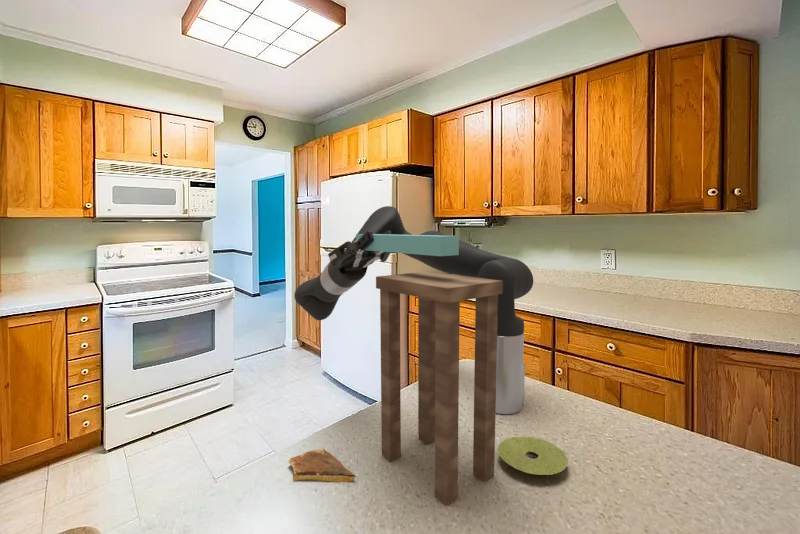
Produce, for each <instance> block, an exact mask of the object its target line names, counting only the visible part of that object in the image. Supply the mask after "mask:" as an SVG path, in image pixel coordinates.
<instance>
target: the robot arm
mask: <svg viewBox="0 0 800 534" xmlns="http://www.w3.org/2000/svg"><path fill="white" fill-rule="evenodd" d="M356 234H364V235H363V236H362V237H361V238H360V239H358V240H356V235H355V237H354V238H353V239H352V241H349V240H347V241H345V242H344V243H343V244H341V245H339V246H338V247H336V248H335V249H333V250H331V251H330V252H328V254H327V255H328V259H329V262H328V263H327V265H325V267H324V268H323V270H322V271H321V272H320V273H319V275H317V276H316V277H313V278H310V279H308V280H306V281H304V282H302V283H301V284H300V285H299V286H298V287H297V288H296V289H295V291H294V296H293V297H294V300H295V302H296V303H297V304H298V305H299V306H300V307H301V308H302V309H303V310H304V311H306V313H308V314H309V316H311V318H313V319H314V320H316V321H323V320H326V319H327V318H329V317H330V316H331V314H332V313H333V311H334V310H335V308H336V305H337V303H338V301H339V299H340V297H341V296H342V295H344V293H346V292H348V291H349V290H350V289H352V288H353V287H354V286H355V285H356V284H357V283H359V282H360V281H361V280H362V279H363V278H364V277H365V276H366V273H367V270H368V267H369V266H371V265H372V264H373V263H375V261H378V260H379V261H380V263H385V262H387V260H388V258H389V257H390V255H391V253H392V252H381V251H369V250H365V249H366V248H367V247H368V246H369V245H370V244H371V243H372V242H373V241H374V238H373V234H391V235H414V234H412V233H410V232H409V231H408V230H406V229H405V226H404V223H403V220H402V218H401V215H400V212H399V211H398V209H397V208H396V207H394V206H389V205H386V206H383V207H382V206H381V207H380V208H378V209H375V211H374V212H373V213H371V214H370V216H369V217H368V218H367V219H366V221H365V222H364V223H363V225H362V227H361V228H360V229H359V231H358V232H357V233H356ZM419 235H438V236H449V235H448V234H445V233H443V232H440V231H438V230H427V231H425V232H424V231H423V232H422V233H420V234H419ZM401 254H402V255H404V256H407V257H410V258H412V259H414V260H416V261H419V262H421V263H422V264H424V265H427V266H429V267H430V268H433V269H435V270H437V271H440V272H441V273H442V272H443V273H445V274H453V275H461V276H469V277H477V278H485V279H493V280H501V281H503V294H498V317H497V365H496V412H495V414H498V415H499V414H500V415H511V414H517V413H519V412H520V411H521V410H522V409H523V405H525V380H526V379H525V377H526V376H525V375H526V363H524V353H525V350H524V348H525V347H524V344H525V343H524V342H525V340H524V339H525V321H524V320H523V319H522V318H521V317H520V316H518V315H517V314H516V309H515V304H516V303H515V300H516V299H520V298H522V297H524V296H525V295H527V294H528V293H529V292H530V291H531V290H532V288H533V286H534V276H533V273H532V271H531V269H530V268H529V267H528V265H527V264H525V263H524V262H523V261H521V260H520V259H517V258H514V257H509V256H505V255H500V254H496V253H492V252H488V251H486V250H483V249H481V248H478V247H476V246H474V245H473V244H470V243H467V242H465V241H462V240H461V239H459V255H452V256H431V255H419V254H406V253H401Z"/></svg>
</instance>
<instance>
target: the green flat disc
mask: <svg viewBox="0 0 800 534" xmlns="http://www.w3.org/2000/svg"><path fill="white" fill-rule="evenodd" d="M497 452H498V455H499V457H500V458H501V459H502V460H503V462H505V464H507V465H509V466H510V467H513V468H514V469H516V470H518V471H521V472H523V473H526V474H530V475H536V476H537V475H540V476H542V475H546V476H549V475H556V474H557V475H558V474H559V473H561V472H563V471H565V470H566V468H567V466H568V463H569V459H568V457H567V455H566V453H565V452H564V451H563V450H562V449H561V448H559V447H558V446H557V445H555V444H553V443H551V442H550V441H547V440H544V439H541V438H538V437H532V436H531V437H529V436H514V437H509V438H505V439H504V440H502V441H501V442H500V443H499V445H498V446H497Z"/></svg>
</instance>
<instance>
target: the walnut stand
mask: <svg viewBox="0 0 800 534" xmlns="http://www.w3.org/2000/svg"><path fill="white" fill-rule="evenodd" d="M375 288H376V289H377V290H379V293H380V295H379V296H380V297H379V301H380V302H379V304H380V305H379V307H380V309H379V311H380V314H379V315H380V319H379V320H380V322H379V323H380V395H381V398H380V399H381V401H380V402H381V403H380V410H381V411H380V412H381V413H380V414H381V415H380V416H381V423H380V425H381V456H382V457H383V458H384V459H385V460H386V461H388V462H389V463H391V462H393V461H395V460H398V459H399V458H401V454H402V453H401V452H402V445H401V444H402V443H401V441H402V440H401V439H402V438H401V437H402V436H401V435H402V434H401V427H402V425H401V419H402V418H401V412H402V411H401V410H402V409H401V404H402V403H401V402H402V401H401V295H407V296H411V297H417V298H418V299H417V301H418V304H417V305H418V309H417V311H418V314H417V316H418V318H417V319H418V323H417V324H418V325H417V327H418V330H417V331H418V332H417V333H418V335H417V337H418V339H417V340H418V342H417V343H418V344H417V345H418V348H417V349H418V350H417V351H418V353H417V354H418V356H417V357H418V362H417V363H418V366H417V367H418V368H417V369H418V375H417V377H418V378H417V379H418V380H417V382H418V385H417V386H418V389H417V390H418V391H417V392H418V393H417V394H418V395H417V396H418V399H417V400H418V405H417V406H418V407H417V408H418V410H417V411H418V414H417V419H418V421H417V423H418V424H417V425H418V426H417V429H418V430H417V431H418V435H417V436H418V438H417V439H418V440H419V441H421V442H422V443H424V444H425V445H429V444H431V443H434V498H435V499H437V500H438V501H439V502H440V503H441V504H443V505H444V506H446V507H447V506H449V504H452V503H453V502H455V501H456V500H458V498H459V497H458V488H459V487H458V484H459V483H458V482H459V481H458V480H459V479H458V477H459V476H458V475H459V405H460V403H459V401H460V400H459V397H460V395H459V394H460V386H459V385H460V317H461V316H460V310H461V309H460V308H461V306H460V305H461V304H460V303H461V301H467V300H474V299H475V313H474V319H475V320H474V321H475V322H474V323H475V324H474V374H473V375H474V379H473V380H474V381H473V382H474V386H473V387H474V388H473V389H474V390H473V441H472V442H473V444H472V445H473V446H472V447H473V452H472V455H473V456H472V459H473V460H472V475H473V476H475V477H476V478H478V479H479V480H481V481H483V482H487V481H488V480H490V479H491V478H493V477H494V476H495V454H496V453H495V452H496V451H495V448H496V447H495V446H496V445H495V444H496V442H495V441H496V413H495V412H496V365H497V317H498V294H503V281H501V280H493V279H485V278H477V277H469V276H461V275H455V274H450V273H446V272H443V273H442V272H437V271H435V272H434V271H429V270H428V271H420V272H410V273H400V274H391V275H389V274H387V275H378V276H377V275H376V276H375Z"/></svg>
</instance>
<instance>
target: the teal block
mask: <svg viewBox="0 0 800 534" xmlns="http://www.w3.org/2000/svg"><path fill="white" fill-rule="evenodd" d="M363 235H364V234H357V233H356V234H355V236H356V240H358V239H360V238H361V237H362V236H363ZM373 238H374V241H373V242H372V243H371V244H370V245H369V246H368V247H367V248H366V249H365V250H369V251H381V252H391V253H395V254H396V253H397V254H402V253H406V254H419V255H431V256H452V255H459V240H460V235H448V236H438V235H420V234H413V235H391V234H373Z"/></svg>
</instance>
